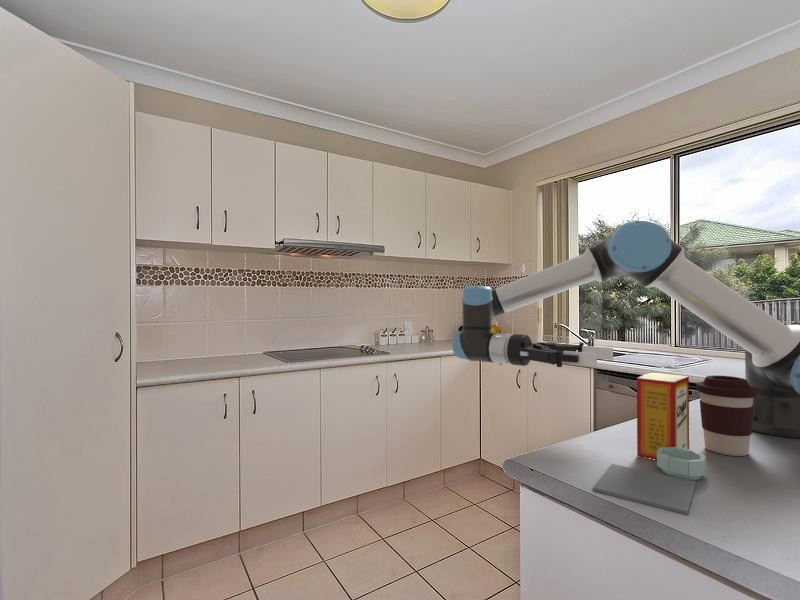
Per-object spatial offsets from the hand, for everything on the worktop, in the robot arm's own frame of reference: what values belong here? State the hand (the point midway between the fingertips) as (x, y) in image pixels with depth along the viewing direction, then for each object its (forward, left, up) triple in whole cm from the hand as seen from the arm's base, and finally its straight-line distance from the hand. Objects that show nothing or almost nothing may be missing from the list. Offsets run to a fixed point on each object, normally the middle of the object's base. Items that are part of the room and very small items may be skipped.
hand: (605, 356), depth 93 cm
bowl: (-14, +8, -19) cm, 25 cm away
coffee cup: (-20, -11, -19) cm, 30 cm away
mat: (-10, +19, -19) cm, 29 cm away
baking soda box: (-11, -1, -19) cm, 22 cm away
